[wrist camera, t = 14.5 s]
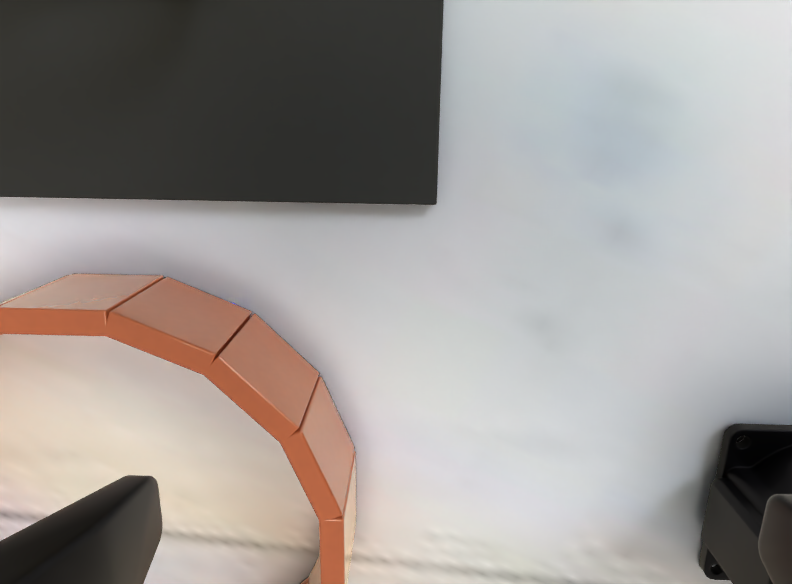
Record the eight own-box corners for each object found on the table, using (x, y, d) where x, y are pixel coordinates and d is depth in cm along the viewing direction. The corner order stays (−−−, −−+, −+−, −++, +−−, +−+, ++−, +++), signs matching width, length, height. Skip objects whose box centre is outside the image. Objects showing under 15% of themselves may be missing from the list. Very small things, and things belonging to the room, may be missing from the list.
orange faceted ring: (355, 279, 20) (341, 315, 16) (357, 655, 25) (346, 753, 21) (-113, 269, 20) (-236, 302, 17) (-25, 640, 25) (-105, 734, 21)
